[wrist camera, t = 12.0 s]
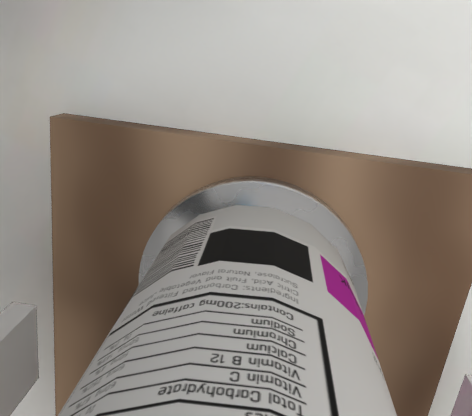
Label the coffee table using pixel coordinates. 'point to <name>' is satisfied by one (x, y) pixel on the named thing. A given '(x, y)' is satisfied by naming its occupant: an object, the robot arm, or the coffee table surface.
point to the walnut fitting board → (269, 166)
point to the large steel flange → (269, 196)
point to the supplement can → (239, 329)
